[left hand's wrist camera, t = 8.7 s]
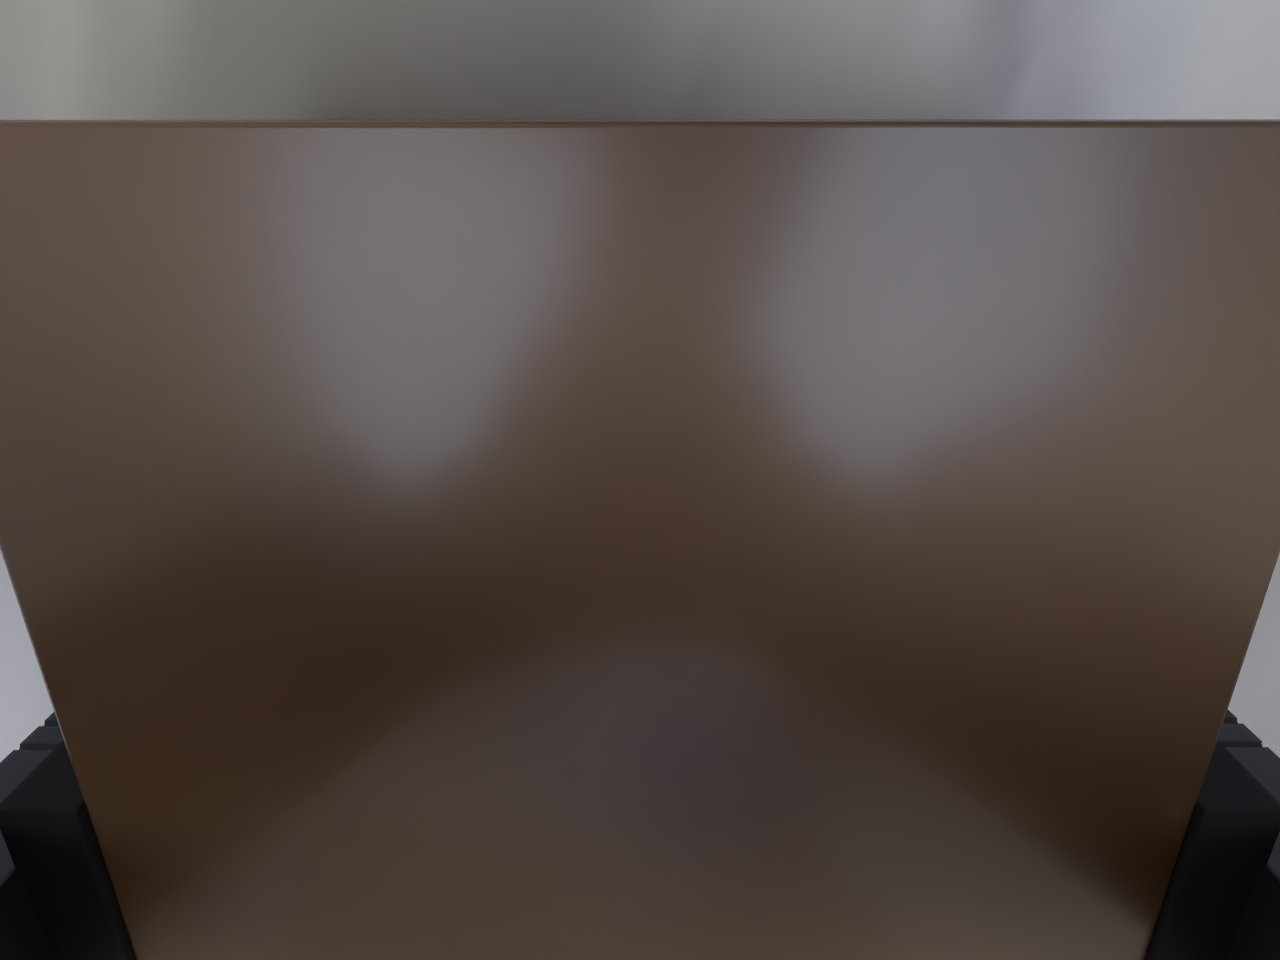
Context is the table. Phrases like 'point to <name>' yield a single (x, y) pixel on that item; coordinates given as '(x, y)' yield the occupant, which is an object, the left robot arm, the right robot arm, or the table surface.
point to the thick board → (640, 524)
